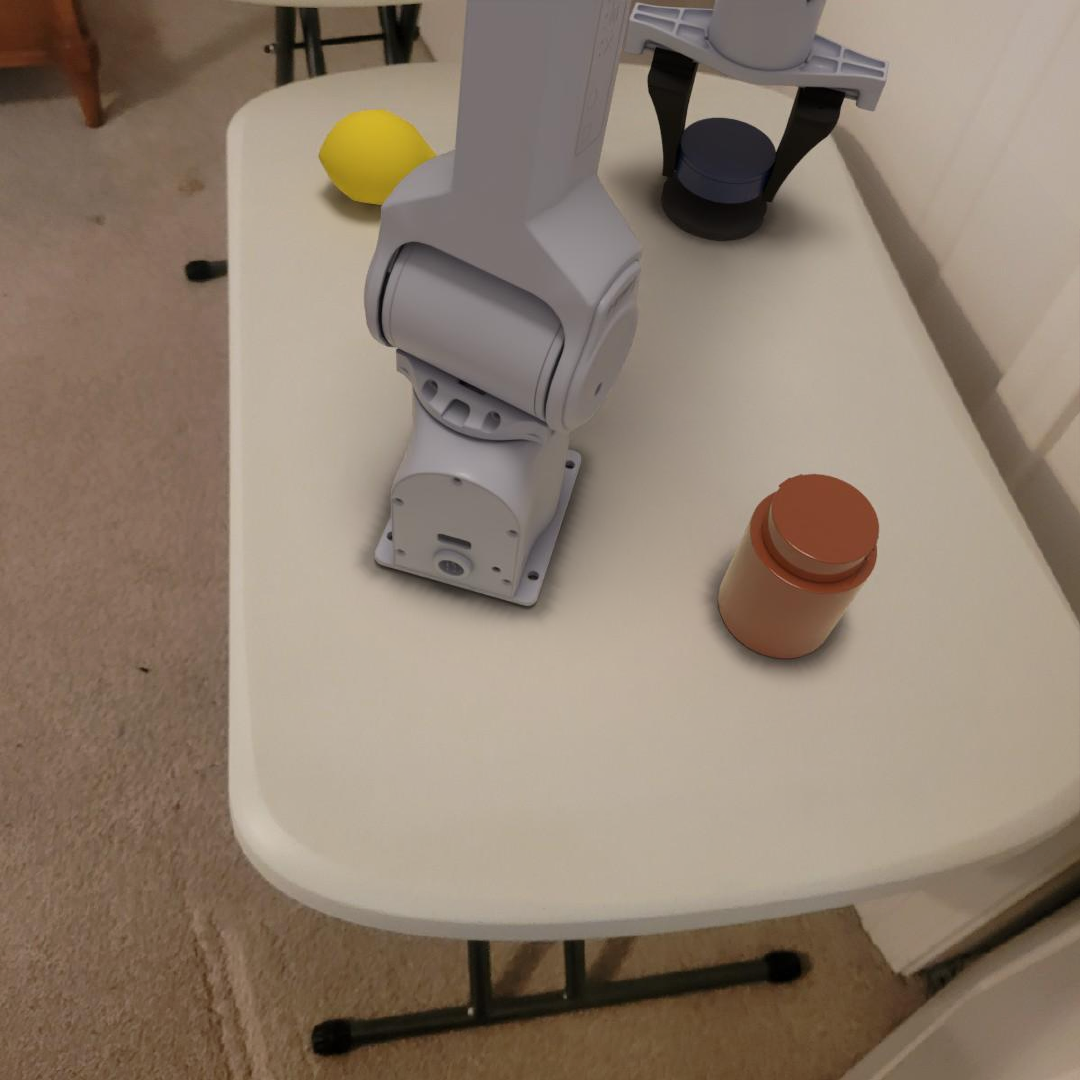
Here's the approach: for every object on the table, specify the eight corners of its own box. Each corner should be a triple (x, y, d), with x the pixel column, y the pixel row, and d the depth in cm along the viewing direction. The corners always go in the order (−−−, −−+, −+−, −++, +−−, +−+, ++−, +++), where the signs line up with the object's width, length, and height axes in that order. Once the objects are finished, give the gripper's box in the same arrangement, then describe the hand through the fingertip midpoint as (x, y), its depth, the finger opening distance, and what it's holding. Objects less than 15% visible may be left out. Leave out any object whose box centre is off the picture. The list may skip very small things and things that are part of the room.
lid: (663, 188, 62) (668, 162, 61) (685, 133, 66) (690, 107, 64) (758, 214, 62) (766, 188, 60) (775, 157, 65) (784, 131, 63)
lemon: (320, 222, 61) (311, 144, 57) (324, 165, 64) (316, 86, 60) (436, 226, 62) (437, 149, 58) (436, 169, 65) (436, 92, 61)
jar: (856, 618, 49) (918, 530, 43) (776, 680, 47) (829, 597, 41) (774, 539, 51) (822, 444, 45) (693, 594, 49) (732, 503, 43)
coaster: (756, 251, 64) (759, 244, 63) (650, 225, 64) (652, 217, 64) (771, 186, 67) (774, 178, 67) (671, 161, 68) (673, 153, 67)
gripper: (924, -47, 54) (839, 170, 66) (661, -106, 56) (622, 117, 67) (916, 21, 51) (828, 239, 62) (633, -45, 52) (597, 181, 63)
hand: (719, 180), depth 64 cm, fingers closed on lid, 6 cm apart
